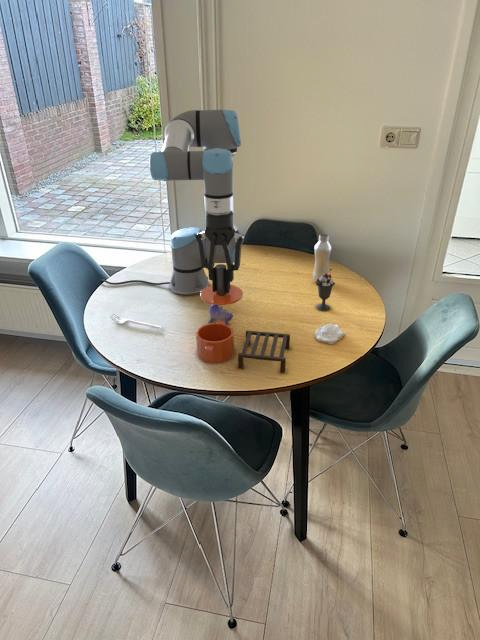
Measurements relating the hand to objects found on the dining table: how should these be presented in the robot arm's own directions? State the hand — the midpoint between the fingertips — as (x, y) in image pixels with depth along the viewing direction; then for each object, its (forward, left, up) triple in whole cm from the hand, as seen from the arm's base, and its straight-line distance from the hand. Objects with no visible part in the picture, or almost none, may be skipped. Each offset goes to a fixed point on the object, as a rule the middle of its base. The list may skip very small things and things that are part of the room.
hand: (221, 290), depth 139 cm
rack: (+13, 0, -22) cm, 26 cm away
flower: (-6, +16, -22) cm, 28 cm away
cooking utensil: (-39, +13, -21) cm, 47 cm away
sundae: (+30, +35, -22) cm, 51 cm away
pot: (-2, 0, -22) cm, 22 cm away
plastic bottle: (+28, +56, -22) cm, 67 cm away
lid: (0, 0, -2) cm, 2 cm away
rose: (+33, +15, -22) cm, 42 cm away
